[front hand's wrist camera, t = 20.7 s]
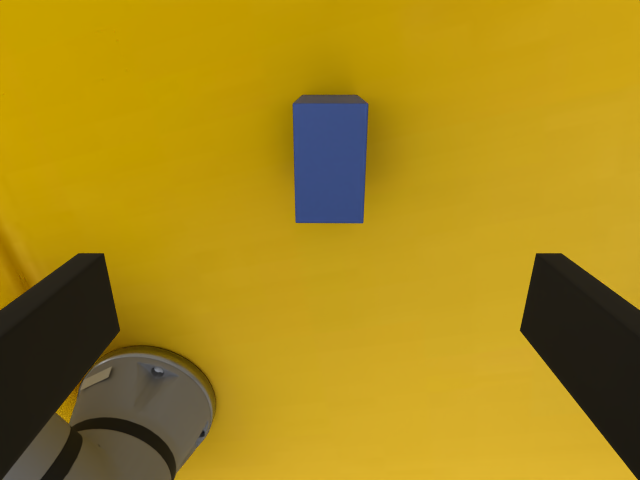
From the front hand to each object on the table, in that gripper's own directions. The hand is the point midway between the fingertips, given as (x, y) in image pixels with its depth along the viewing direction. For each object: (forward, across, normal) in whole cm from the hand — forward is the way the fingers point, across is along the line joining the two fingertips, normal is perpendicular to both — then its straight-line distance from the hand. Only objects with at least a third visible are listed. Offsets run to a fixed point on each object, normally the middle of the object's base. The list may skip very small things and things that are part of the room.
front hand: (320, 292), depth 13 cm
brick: (+27, -1, -1) cm, 27 cm away
